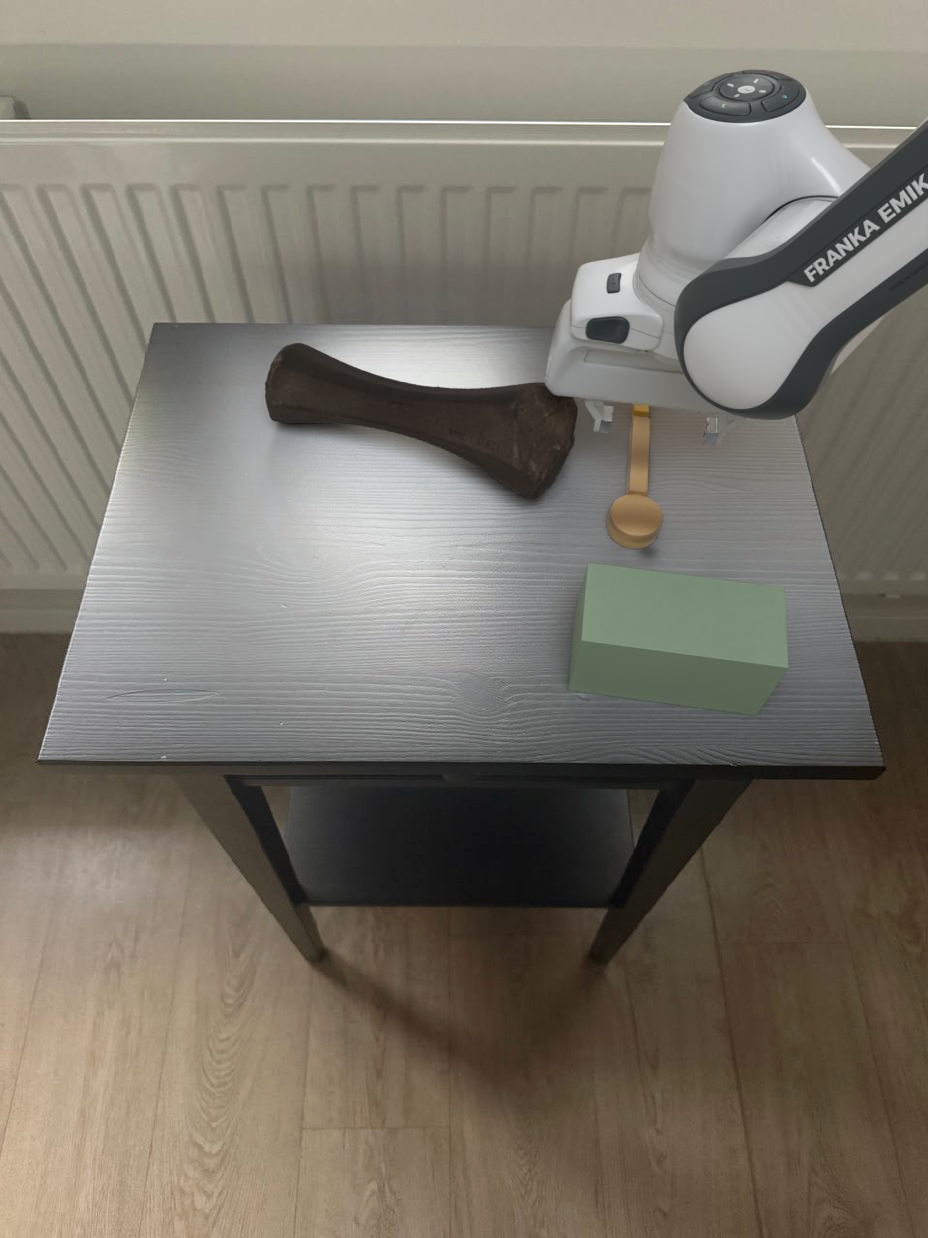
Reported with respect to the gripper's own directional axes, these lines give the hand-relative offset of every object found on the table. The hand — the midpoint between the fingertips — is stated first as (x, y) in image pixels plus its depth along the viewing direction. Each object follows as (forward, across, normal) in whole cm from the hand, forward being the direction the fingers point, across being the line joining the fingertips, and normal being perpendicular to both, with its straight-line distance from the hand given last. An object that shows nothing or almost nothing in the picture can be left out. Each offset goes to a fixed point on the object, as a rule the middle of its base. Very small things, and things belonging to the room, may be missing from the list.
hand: (656, 433), depth 81 cm
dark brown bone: (+6, +21, 0) cm, 22 cm away
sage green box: (+6, -2, +19) cm, 20 cm away
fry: (+6, +1, -11) cm, 12 cm away
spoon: (+6, +1, +1) cm, 6 cm away
